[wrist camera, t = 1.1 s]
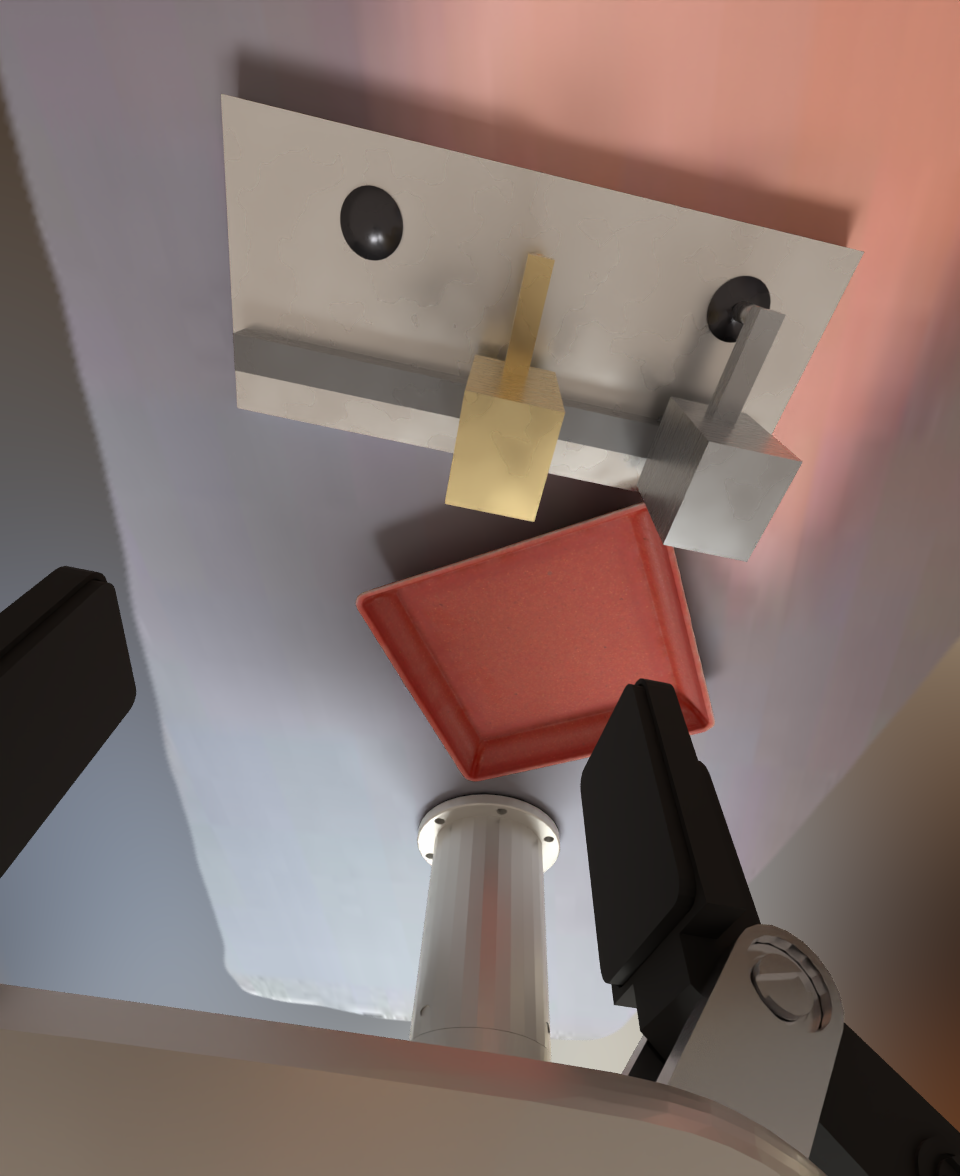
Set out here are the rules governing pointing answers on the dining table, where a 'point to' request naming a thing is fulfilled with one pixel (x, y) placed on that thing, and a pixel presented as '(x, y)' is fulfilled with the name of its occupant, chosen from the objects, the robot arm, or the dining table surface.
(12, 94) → the dining table surface
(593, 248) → the hole plate
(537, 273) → the tan stemmed block
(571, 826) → the dining table surface
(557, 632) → the plant saucer
